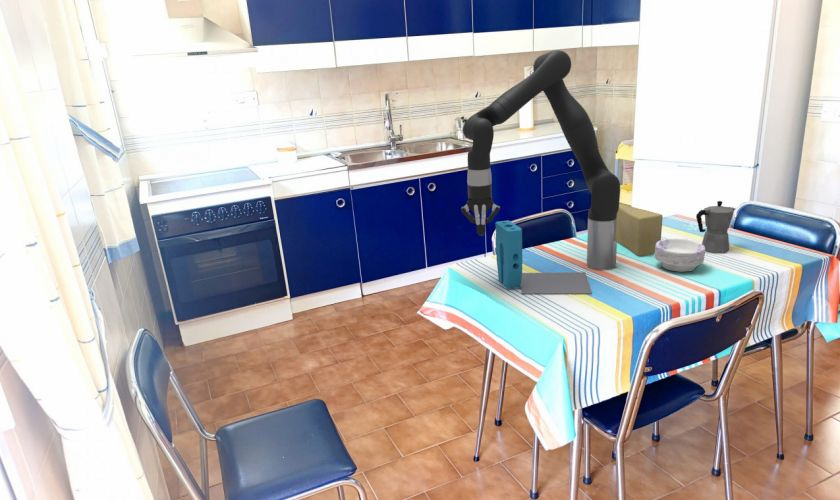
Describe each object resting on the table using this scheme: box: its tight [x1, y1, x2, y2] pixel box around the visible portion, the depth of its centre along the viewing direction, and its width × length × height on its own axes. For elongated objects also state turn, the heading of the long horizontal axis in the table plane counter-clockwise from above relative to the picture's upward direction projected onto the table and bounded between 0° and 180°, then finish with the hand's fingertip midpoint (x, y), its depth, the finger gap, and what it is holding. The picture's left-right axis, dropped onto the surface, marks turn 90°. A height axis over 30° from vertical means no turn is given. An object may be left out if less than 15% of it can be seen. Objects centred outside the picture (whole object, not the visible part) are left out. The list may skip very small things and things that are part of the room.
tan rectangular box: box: [616, 202, 663, 257], centre depth 209 cm, size 22×10×15 cm, turn 16°
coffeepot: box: [695, 200, 736, 254], centre depth 199 cm, size 15×9×18 cm, turn 103°
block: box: [495, 220, 523, 290], centre depth 182 cm, size 12×5×20 cm, turn 12°
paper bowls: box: [654, 238, 706, 273], centre depth 188 cm, size 15×15×8 cm
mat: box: [520, 271, 593, 295], centre depth 183 cm, size 22×18×1 cm
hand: (481, 234), depth 182 cm, fingers closed
